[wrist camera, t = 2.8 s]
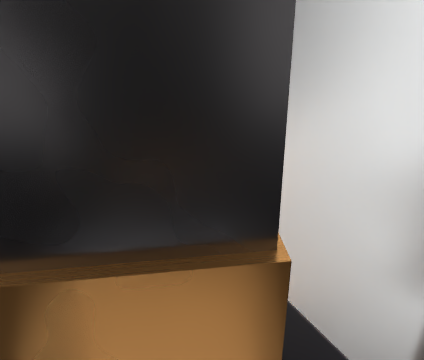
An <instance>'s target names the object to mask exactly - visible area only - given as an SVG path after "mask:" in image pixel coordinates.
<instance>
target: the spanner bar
mask: <svg viewBox="0 0 424 360" xmlns="http://www.w3.org/2000/svg"><path fill="white" fill-rule="evenodd" d="M295 3H296V0H0V360H282V352H283V342H284V332H285V322H286V311H287V301H288V291H289V281H290V271H291V259H290V257H289V255H288V253H287V250H286V248H285V246H284V244H283V242H282V240H281V238H280V235H279V233H278V230H279V217H280V203H281V190H282V176H283V163H284V150H285V136H286V123H287V110H288V96H289V83H290V69H291V56H292V43H293V29H294V16H295Z"/></svg>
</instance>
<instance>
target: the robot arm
mask: <svg viewBox="0 0 424 360" xmlns="http://www.w3.org/2000/svg"><path fill="white" fill-rule="evenodd" d="M282 360H349V359H348V358H347V357H346V356H344V355H343V354H342V353H341V352H340V351H339V350H338V349H337V348H336V347H335V346H334V345H333V344H332V343H331V342H330V341H329V340H328V339H327V338H326V337H325V336H324V335H323V334H322V333H321V332H320V331H319V330H318V329H317V328H316V327H314V326H313V325H312V324H311V323H310V322H309V321H308V320H307V319H306V318H305V317H304V316H303V315H302V314H301V313H300V312H299V311H298V310H297V309H296V308H295V307H294V306H293V305H292V304H291V303H290V302H289V301H287V311H286V322H285V332H284V342H283V352H282Z"/></svg>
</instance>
